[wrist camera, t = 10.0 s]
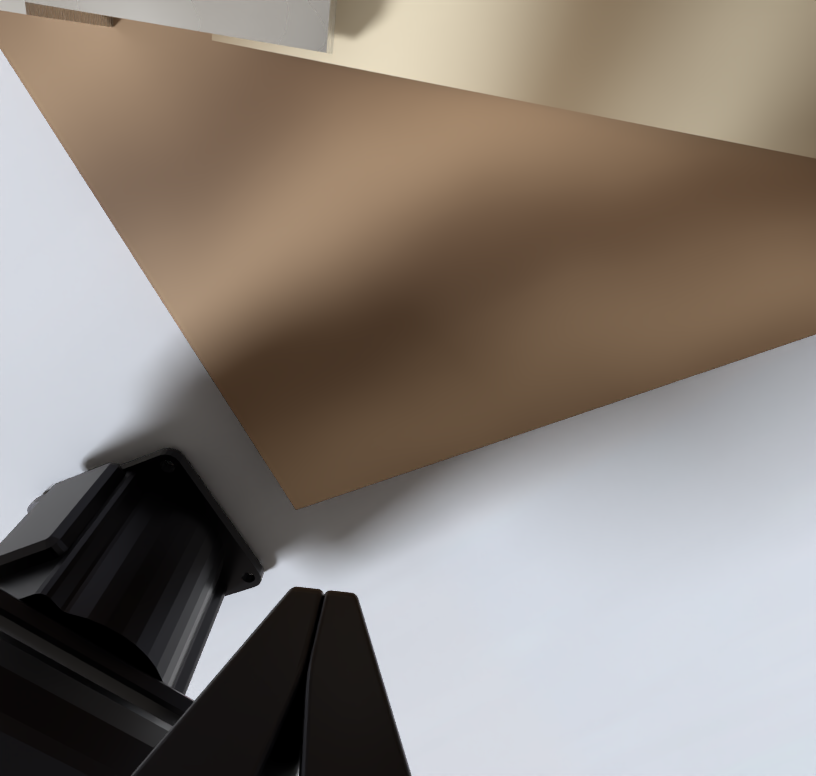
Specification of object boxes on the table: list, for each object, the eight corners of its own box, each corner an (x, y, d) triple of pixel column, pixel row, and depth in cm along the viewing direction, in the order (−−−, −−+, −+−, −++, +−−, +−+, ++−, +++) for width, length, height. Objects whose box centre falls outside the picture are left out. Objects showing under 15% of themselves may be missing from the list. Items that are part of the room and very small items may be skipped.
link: (1072, 23, 13) (1222, 11, 11) (964, 209, 15) (1069, 236, 13) (244, -151, 12) (197, -209, 10) (236, 68, 14) (194, 66, 12)
